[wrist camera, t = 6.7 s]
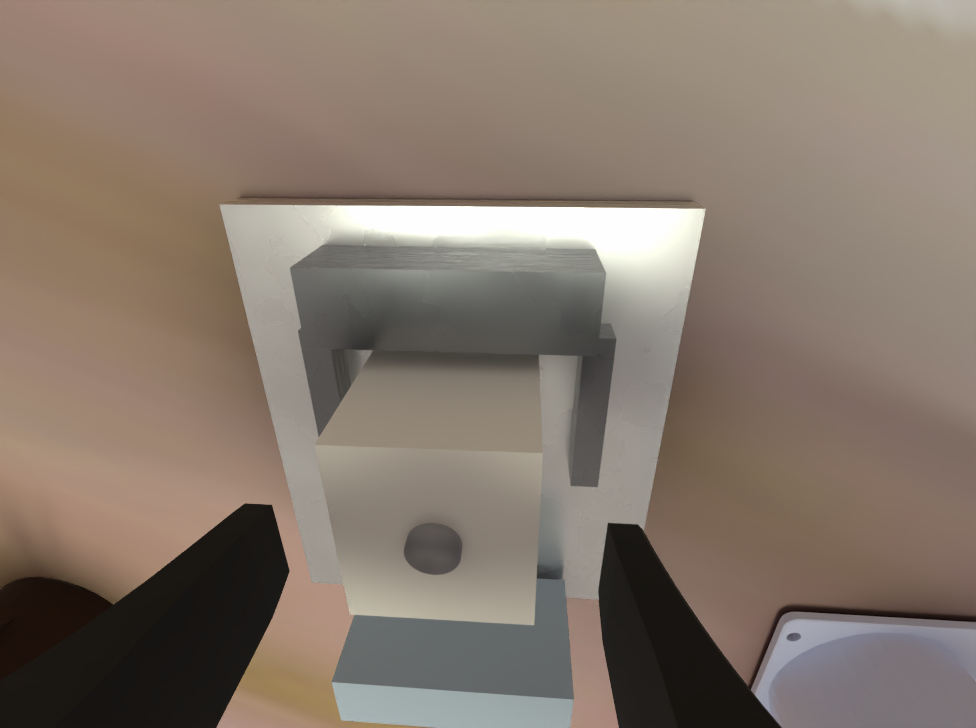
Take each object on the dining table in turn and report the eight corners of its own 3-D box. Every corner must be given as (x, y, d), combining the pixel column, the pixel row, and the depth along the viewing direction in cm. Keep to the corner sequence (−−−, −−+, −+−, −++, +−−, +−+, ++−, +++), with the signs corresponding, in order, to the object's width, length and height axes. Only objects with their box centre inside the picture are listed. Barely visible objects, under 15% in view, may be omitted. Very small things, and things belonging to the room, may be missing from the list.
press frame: (625, 578, 19) (641, 654, 17) (321, 561, 20) (290, 631, 17) (693, 201, 13) (736, 227, 10) (239, 197, 14) (169, 221, 11)
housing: (532, 481, 16) (534, 637, 11) (397, 476, 16) (345, 626, 12) (538, 340, 14) (543, 463, 9) (381, 337, 14) (308, 454, 9)
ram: (560, 617, 19) (568, 737, 15) (376, 605, 19) (341, 720, 16) (564, 580, 18) (573, 699, 14) (369, 569, 18) (331, 682, 15)
